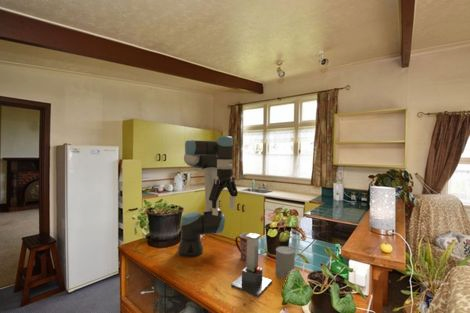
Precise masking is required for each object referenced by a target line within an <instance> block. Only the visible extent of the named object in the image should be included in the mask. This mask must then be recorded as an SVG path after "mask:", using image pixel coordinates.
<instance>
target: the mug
mask: <svg viewBox="0 0 470 313" xmlns="http://www.w3.org/2000/svg"><path fill="white" fill-rule="evenodd" d="M250 233H251V232H250ZM250 233H249V232H243V233H241V234H240V235H237V236H236V237H235V240H234V241H235V246H236V248H237V250H238V252H239V253H240V260H241V261H243V262H247V238H246V235H248V234H250ZM238 239H239V240H240V241H239V242H240V244H239V242H238Z"/></svg>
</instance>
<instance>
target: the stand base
mask: <svg viewBox="0 0 470 313" xmlns="http://www.w3.org/2000/svg"><path fill="white" fill-rule="evenodd" d="M272 283H273V280H272V279H269V278H268V277H264V276H263V268H262V267H259V266H258V267H257V268H256V271H255V272H252V271H249V270H246V267H244V268H243V269H242V270H241V276H239V277H238V278H237V279H236V280H235V281H233V282H232V283H231V284H230V286H231V287H232V288H235V289H237V290H239V291H242V292H244V293H247V294H249V295H251V296H254V297H257V298H259V297H260V296H261V295H262V294H263V293H264V292H265V291H266V289H267V288H268V287H269V286H270V285H271V284H272Z"/></svg>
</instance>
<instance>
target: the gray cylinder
mask: <svg viewBox="0 0 470 313" xmlns="http://www.w3.org/2000/svg"><path fill="white" fill-rule="evenodd" d="M295 252H296V250H295V249H294V248H292V247H291V246H286V245H281V246H280V245H279V246H277V247H276V248H275V273H274V274H275V275H276V276H277V277H278V276H279V277H278V278H280V277H281V279H284V278H285V280H287V279H286V277H287V275H288V273H289V271H291V270H292V269H294V270H295V260H296V259H295V257H296V256H295V254H296V253H295Z"/></svg>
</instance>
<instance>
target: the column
mask: <svg viewBox="0 0 470 313" xmlns="http://www.w3.org/2000/svg"><path fill="white" fill-rule="evenodd" d="M246 238H247V261H246V266H245V268H246V270H249V271H252V272H255V271H256V268H257V267H259V247H260V246H259V243H260V242H259V241H260V240H259V239H260V238H261V234H258V233H254V232H250V234H248V235H246Z"/></svg>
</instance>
